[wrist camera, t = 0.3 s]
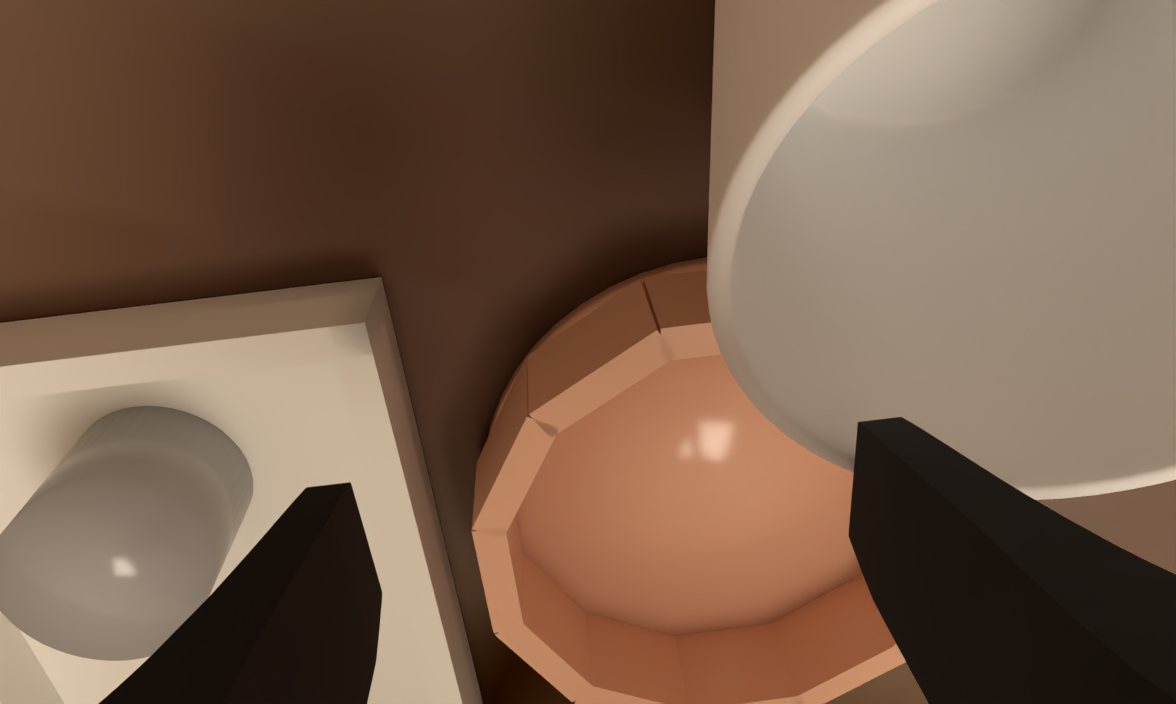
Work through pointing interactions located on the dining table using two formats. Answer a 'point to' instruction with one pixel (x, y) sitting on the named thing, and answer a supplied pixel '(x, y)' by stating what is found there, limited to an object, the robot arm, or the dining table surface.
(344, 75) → the dining table surface
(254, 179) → the dining table surface
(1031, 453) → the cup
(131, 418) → the pebble
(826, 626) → the bowl
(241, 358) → the tray
